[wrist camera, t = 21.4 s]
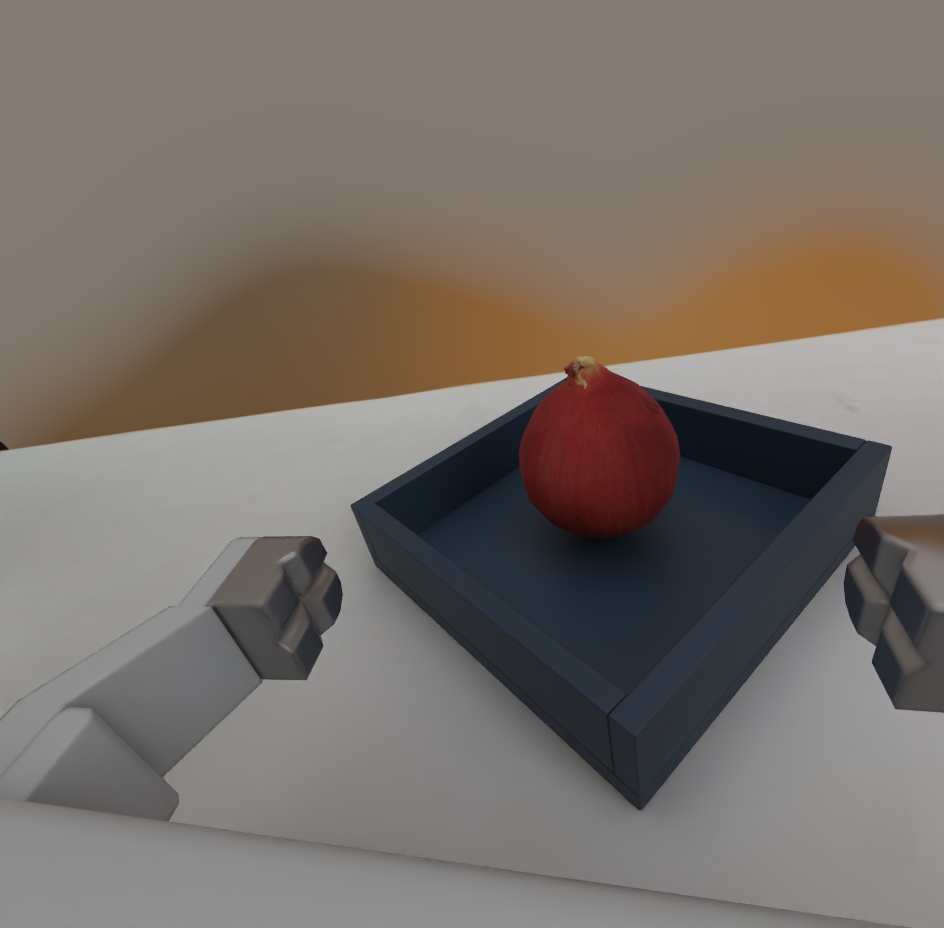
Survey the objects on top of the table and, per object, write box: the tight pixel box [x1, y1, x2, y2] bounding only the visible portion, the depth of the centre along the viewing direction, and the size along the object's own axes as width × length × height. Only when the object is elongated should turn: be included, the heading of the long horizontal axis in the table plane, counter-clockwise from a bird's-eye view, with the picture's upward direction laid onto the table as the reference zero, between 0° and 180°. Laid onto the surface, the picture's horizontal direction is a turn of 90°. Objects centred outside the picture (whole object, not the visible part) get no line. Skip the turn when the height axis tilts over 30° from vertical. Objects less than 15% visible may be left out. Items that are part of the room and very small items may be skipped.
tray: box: [351, 378, 892, 810], centre depth 22 cm, size 15×15×4 cm
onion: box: [519, 356, 680, 541], centre depth 20 cm, size 6×6×8 cm
